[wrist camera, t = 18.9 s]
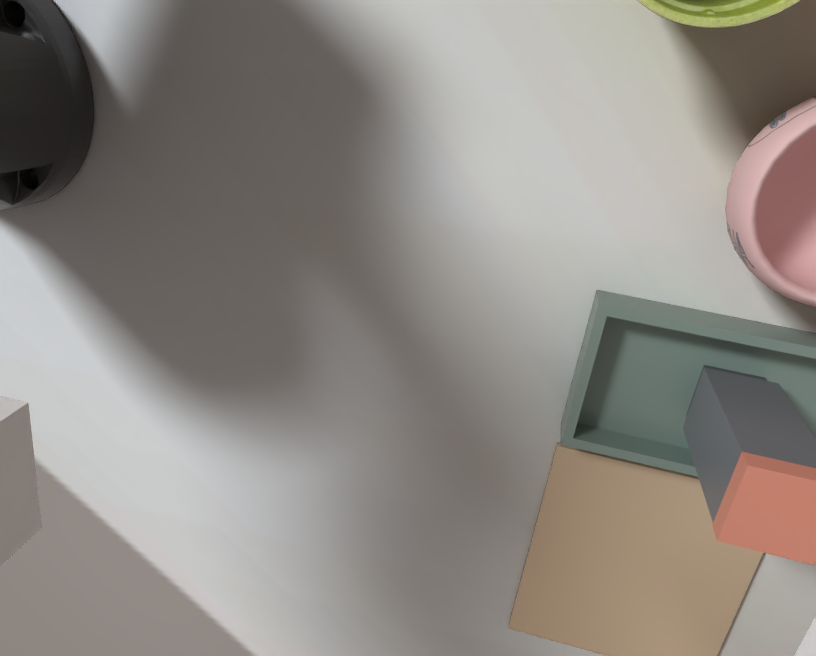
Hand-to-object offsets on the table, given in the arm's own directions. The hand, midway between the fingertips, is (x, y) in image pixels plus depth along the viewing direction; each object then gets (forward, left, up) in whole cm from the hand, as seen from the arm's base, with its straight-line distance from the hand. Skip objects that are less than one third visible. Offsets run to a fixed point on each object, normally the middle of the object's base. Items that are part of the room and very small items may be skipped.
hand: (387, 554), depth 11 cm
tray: (+14, -9, -30) cm, 34 cm away
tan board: (+13, -23, -30) cm, 39 cm away
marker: (+14, -9, -29) cm, 34 cm away
